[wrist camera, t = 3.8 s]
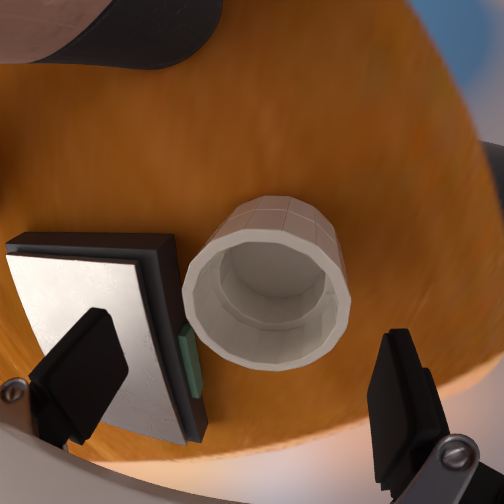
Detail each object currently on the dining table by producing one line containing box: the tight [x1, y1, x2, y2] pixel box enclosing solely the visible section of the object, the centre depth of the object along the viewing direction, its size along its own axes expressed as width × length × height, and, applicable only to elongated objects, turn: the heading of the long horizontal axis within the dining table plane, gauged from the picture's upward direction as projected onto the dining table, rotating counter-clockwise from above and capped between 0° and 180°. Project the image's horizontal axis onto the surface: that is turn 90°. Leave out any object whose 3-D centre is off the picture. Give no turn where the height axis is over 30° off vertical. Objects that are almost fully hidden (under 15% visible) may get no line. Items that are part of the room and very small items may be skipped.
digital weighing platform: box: [6, 252, 188, 446], centre depth 20 cm, size 12×17×1 cm
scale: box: [5, 232, 208, 443], centre depth 22 cm, size 15×18×2 cm
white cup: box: [182, 196, 351, 371], centre depth 15 cm, size 7×7×6 cm
